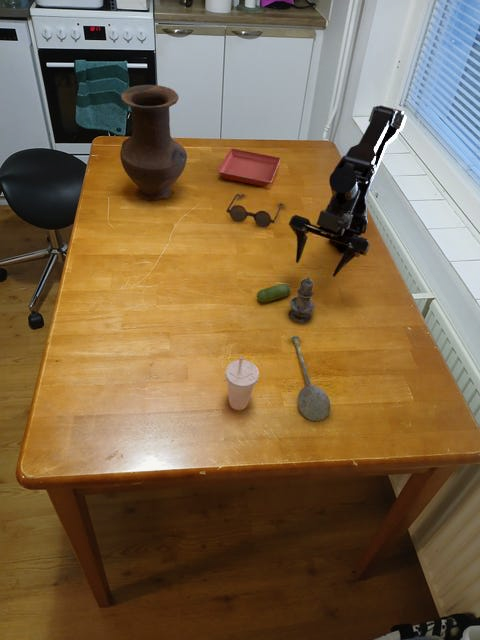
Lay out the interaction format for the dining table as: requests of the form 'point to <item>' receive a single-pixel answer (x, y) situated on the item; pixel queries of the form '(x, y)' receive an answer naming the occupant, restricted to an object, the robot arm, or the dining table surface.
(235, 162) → the plant saucer
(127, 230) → the dining table surface
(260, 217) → the eyeglasses
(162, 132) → the vase
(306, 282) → the chess piece
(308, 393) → the soupspoon
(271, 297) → the pickle
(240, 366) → the smoothie
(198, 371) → the dining table surface
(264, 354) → the dining table surface
